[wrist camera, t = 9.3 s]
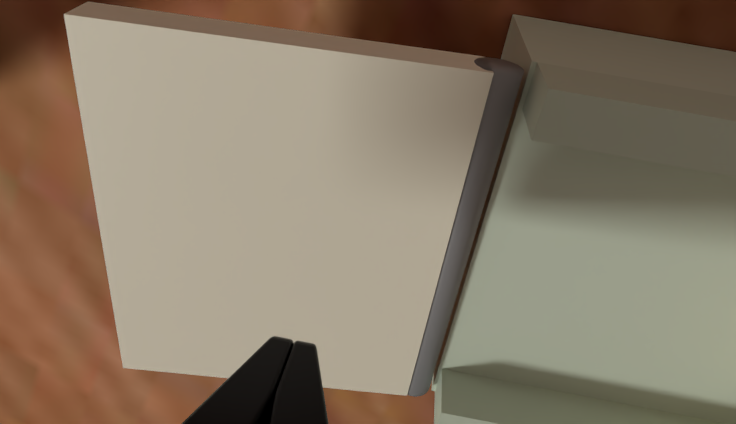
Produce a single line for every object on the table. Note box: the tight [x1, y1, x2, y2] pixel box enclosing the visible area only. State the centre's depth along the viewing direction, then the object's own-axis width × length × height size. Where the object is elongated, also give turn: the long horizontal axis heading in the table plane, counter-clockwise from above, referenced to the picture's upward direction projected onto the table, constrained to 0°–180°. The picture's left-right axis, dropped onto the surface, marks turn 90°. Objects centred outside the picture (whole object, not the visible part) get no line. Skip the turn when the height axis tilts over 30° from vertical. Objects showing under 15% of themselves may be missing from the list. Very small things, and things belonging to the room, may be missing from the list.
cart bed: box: [432, 14, 736, 424], centre depth 14 cm, size 10×14×6 cm
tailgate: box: [64, 1, 524, 396], centre depth 13 cm, size 10×9×1 cm
